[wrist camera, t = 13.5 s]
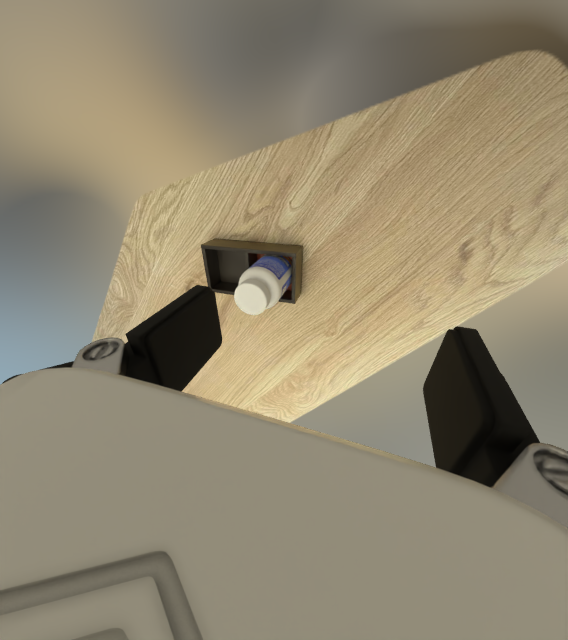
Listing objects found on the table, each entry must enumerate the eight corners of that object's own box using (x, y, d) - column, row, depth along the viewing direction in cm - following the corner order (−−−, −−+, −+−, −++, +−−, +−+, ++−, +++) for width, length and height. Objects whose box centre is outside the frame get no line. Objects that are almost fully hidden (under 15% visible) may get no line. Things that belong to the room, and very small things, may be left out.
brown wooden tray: (214, 238, 37) (200, 244, 34) (303, 245, 34) (296, 253, 31) (220, 282, 41) (208, 291, 38) (301, 293, 38) (294, 303, 35)
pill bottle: (254, 255, 36) (219, 281, 28) (289, 246, 34) (261, 271, 26) (267, 290, 38) (238, 323, 30) (300, 283, 36) (278, 317, 28)
